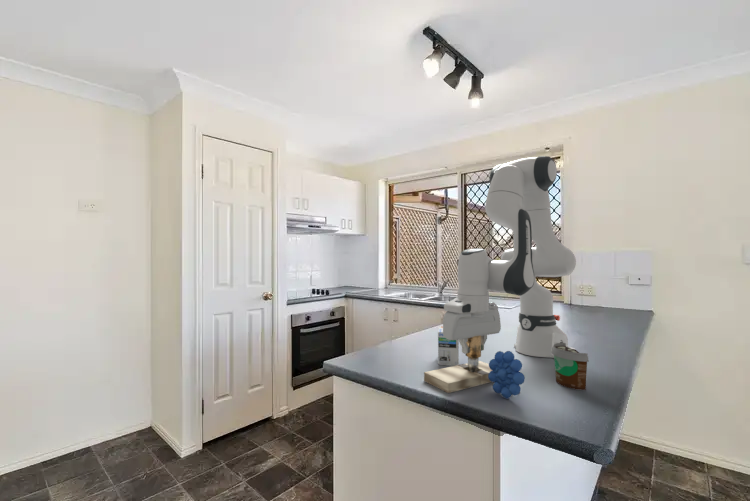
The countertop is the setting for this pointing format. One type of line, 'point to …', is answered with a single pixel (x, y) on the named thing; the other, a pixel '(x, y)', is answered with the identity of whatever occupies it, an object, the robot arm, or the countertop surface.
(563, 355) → the food container
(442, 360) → the light bulb box
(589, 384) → the countertop surface
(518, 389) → the grapes
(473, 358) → the gold rounded piece
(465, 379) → the wooden block with hole
